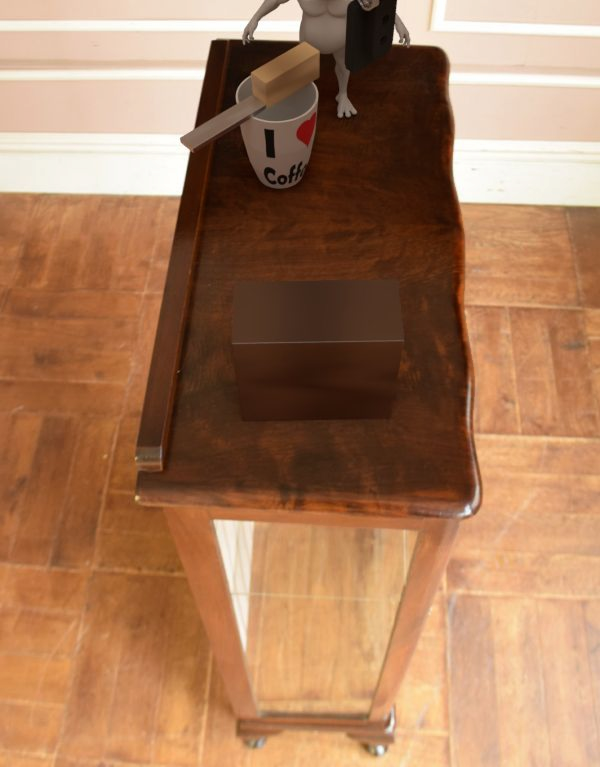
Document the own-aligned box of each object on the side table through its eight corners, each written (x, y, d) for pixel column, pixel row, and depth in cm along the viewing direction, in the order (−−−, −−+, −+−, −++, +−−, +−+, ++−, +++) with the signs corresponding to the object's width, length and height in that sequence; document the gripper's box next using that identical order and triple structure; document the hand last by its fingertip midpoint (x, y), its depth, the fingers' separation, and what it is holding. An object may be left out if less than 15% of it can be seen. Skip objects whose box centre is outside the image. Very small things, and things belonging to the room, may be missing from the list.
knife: (304, 67, 78) (304, 40, 76) (319, 77, 77) (320, 51, 75) (179, 142, 73) (175, 116, 70) (194, 154, 72) (190, 128, 69)
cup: (258, 207, 82) (252, 131, 73) (232, 157, 86) (224, 80, 77) (328, 186, 83) (331, 109, 75) (300, 138, 87) (299, 60, 79)
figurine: (245, 125, 89) (232, -29, 73) (249, 87, 92) (238, -68, 77) (402, 129, 88) (422, -26, 73) (400, 90, 92) (419, -65, 76)
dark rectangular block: (385, 361, 71) (398, 278, 61) (390, 418, 68) (404, 340, 58) (244, 364, 71) (233, 281, 61) (242, 421, 68) (231, 344, 58)
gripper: (542, -341, 29) (463, 63, 43) (239, -438, 36) (259, -60, 50) (404, -285, 26) (369, 125, 41) (105, -401, 33) (167, -14, 47)
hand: (308, 22), depth 45 cm, fingers open, 9 cm apart
